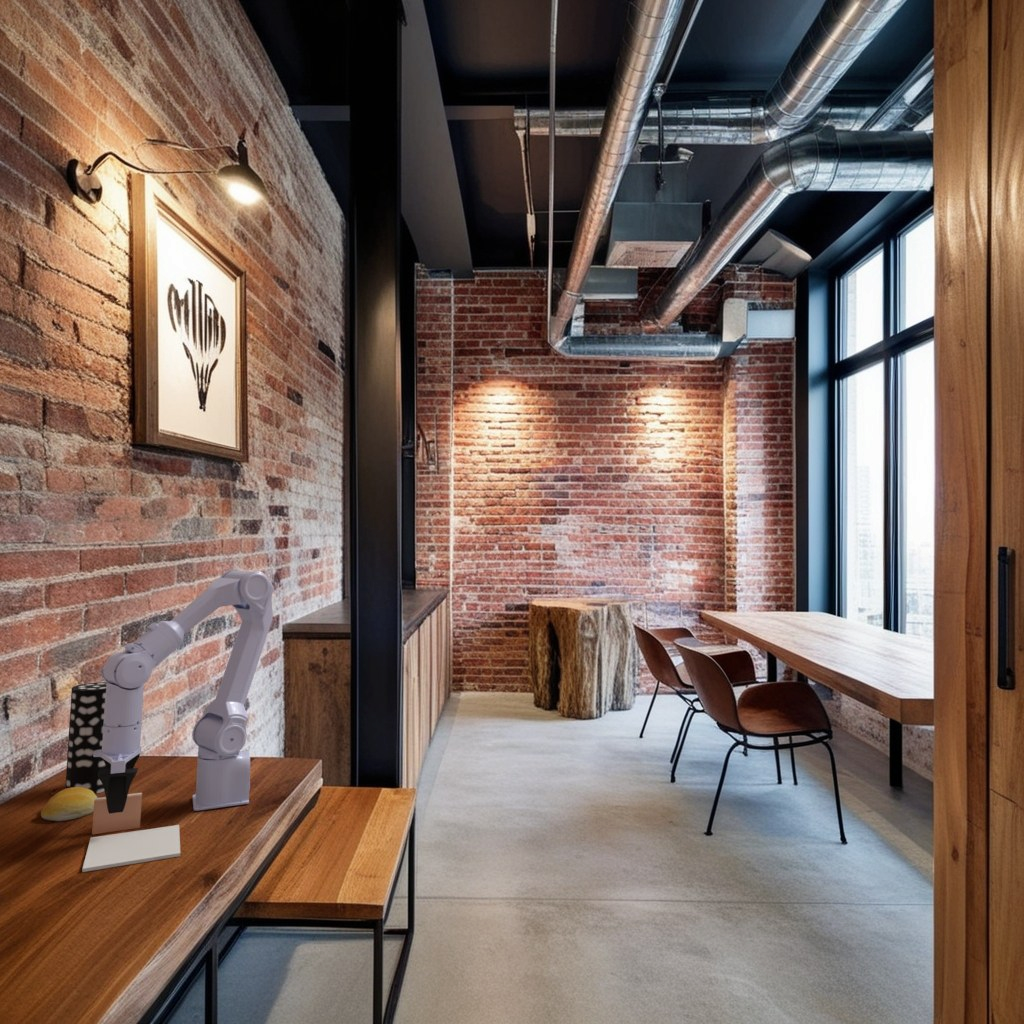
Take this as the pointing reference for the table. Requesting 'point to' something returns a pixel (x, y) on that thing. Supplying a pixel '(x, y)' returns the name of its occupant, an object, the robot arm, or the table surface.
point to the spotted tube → (86, 736)
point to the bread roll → (69, 804)
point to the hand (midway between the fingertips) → (117, 804)
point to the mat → (132, 848)
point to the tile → (117, 815)
